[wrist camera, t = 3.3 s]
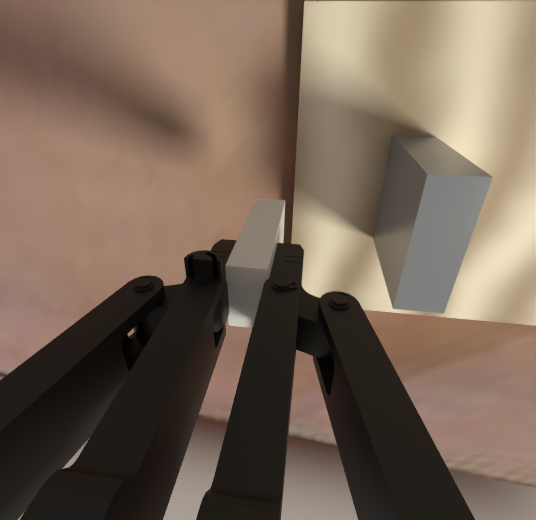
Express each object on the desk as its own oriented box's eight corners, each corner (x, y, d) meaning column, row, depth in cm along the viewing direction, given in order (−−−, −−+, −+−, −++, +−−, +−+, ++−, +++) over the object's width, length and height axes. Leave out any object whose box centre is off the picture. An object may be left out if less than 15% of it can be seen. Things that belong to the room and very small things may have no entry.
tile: (372, 237, 24) (392, 308, 17) (392, 134, 21) (427, 173, 14) (414, 240, 24) (452, 314, 17) (442, 136, 20) (503, 177, 14)
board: (289, 294, 29) (288, 302, 28) (305, 3, 19) (304, 0, 18) (595, 321, 27) (606, 332, 26) (806, 3, 16) (838, -1, 15)
